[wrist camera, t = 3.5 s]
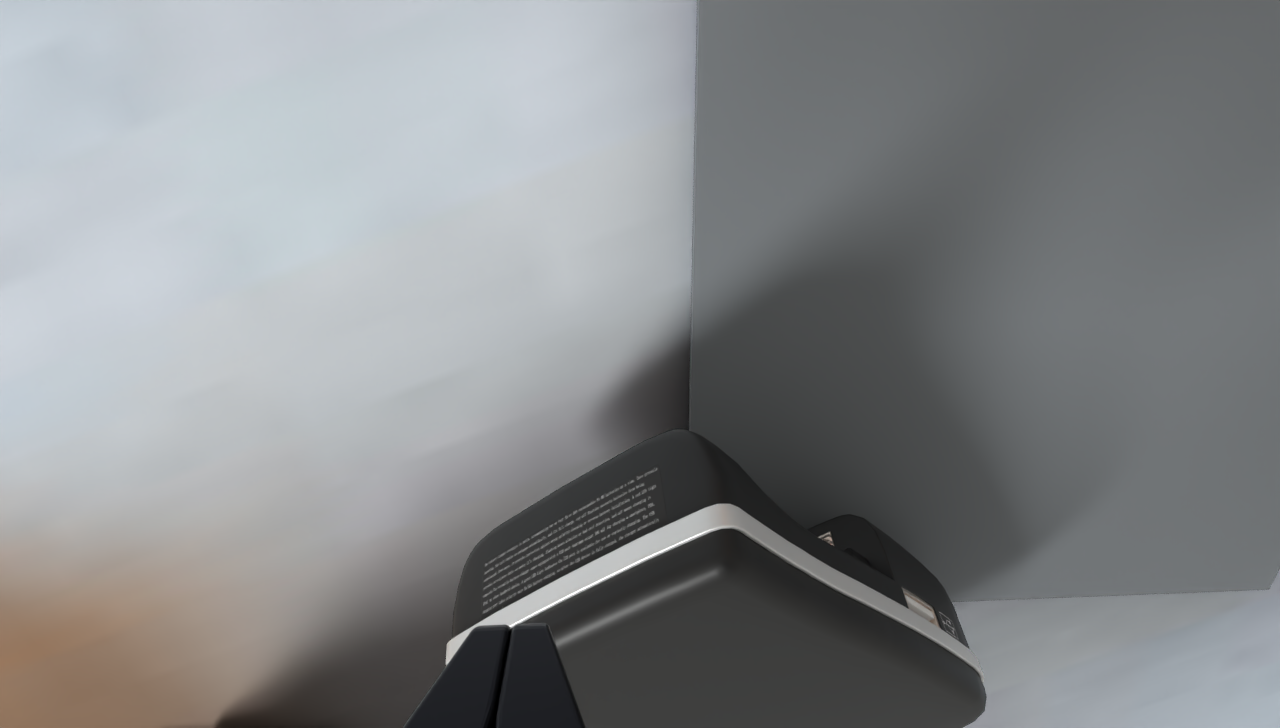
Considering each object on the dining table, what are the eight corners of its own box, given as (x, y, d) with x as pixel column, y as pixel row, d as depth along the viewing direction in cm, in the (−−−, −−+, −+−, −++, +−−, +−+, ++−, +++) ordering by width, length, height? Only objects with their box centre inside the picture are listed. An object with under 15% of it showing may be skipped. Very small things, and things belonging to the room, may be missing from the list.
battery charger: (438, 520, 17) (743, 654, 24) (423, 704, 15) (770, 795, 21) (700, 359, 14) (962, 565, 21) (739, 554, 12) (1023, 716, 18)
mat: (1258, 579, 22) (1269, 589, 22) (685, 601, 22) (686, 612, 22) (1637, -210, 14) (1665, -213, 13) (700, -200, 13) (703, -202, 13)
